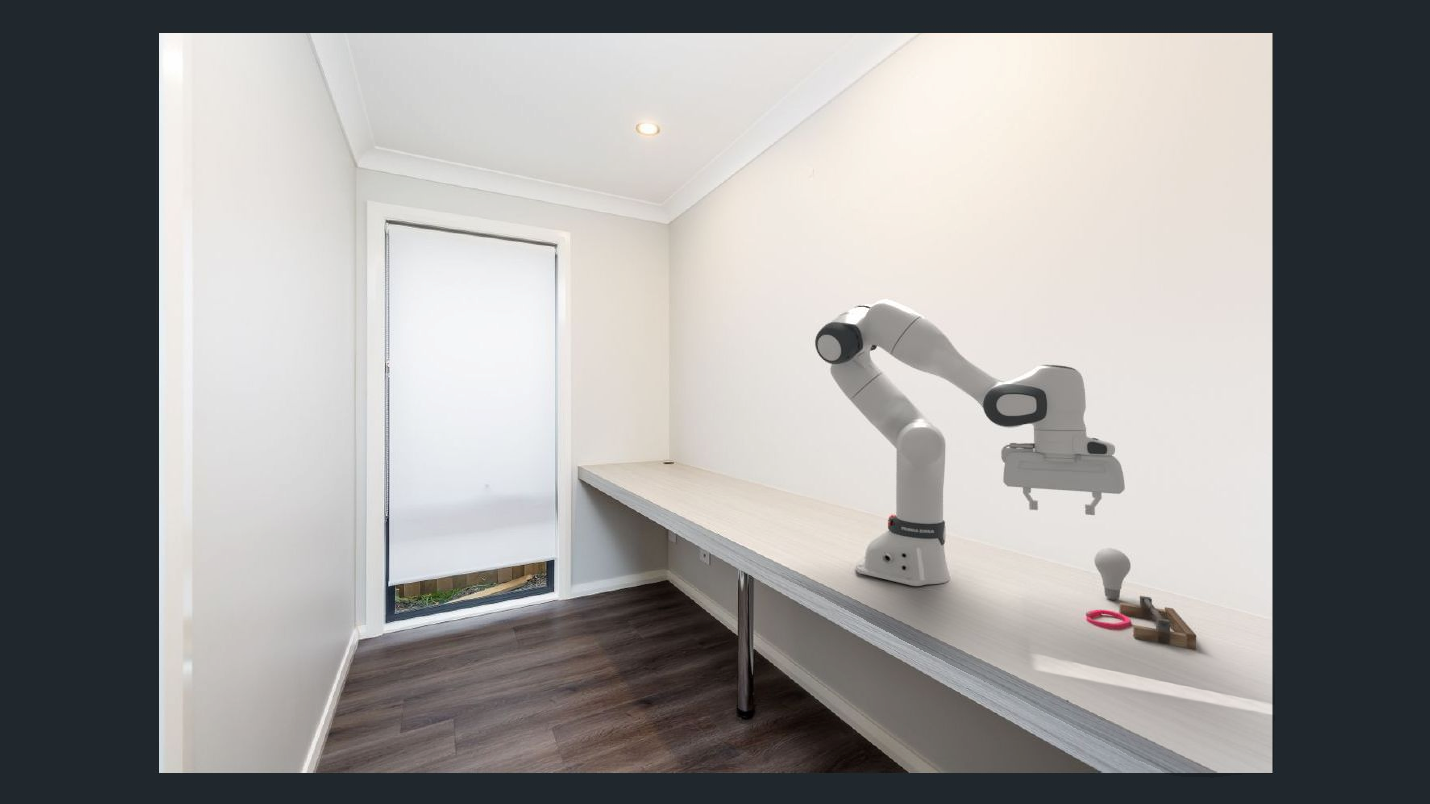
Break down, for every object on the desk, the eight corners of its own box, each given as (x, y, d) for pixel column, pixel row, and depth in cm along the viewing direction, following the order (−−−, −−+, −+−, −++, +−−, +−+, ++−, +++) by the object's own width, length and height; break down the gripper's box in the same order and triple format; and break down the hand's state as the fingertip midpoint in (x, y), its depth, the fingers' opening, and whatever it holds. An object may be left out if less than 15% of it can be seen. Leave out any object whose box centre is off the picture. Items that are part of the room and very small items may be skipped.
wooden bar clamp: (1134, 638, 90) (1135, 616, 90) (1119, 612, 101) (1119, 592, 101) (1196, 649, 86) (1196, 626, 86) (1172, 621, 97) (1172, 600, 97)
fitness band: (1104, 614, 101) (1104, 606, 101) (1137, 626, 96) (1137, 618, 96) (1079, 621, 98) (1079, 613, 98) (1112, 633, 93) (1112, 625, 93)
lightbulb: (1137, 606, 104) (1137, 554, 104) (1104, 604, 105) (1104, 552, 105) (1119, 595, 110) (1119, 545, 110) (1088, 593, 111) (1088, 544, 111)
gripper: (999, 443, 105) (1001, 509, 105) (1125, 446, 94) (1126, 520, 93) (1002, 441, 110) (1003, 504, 110) (1121, 444, 99) (1122, 514, 99)
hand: (1061, 511), depth 102 cm, fingers open, 8 cm apart
